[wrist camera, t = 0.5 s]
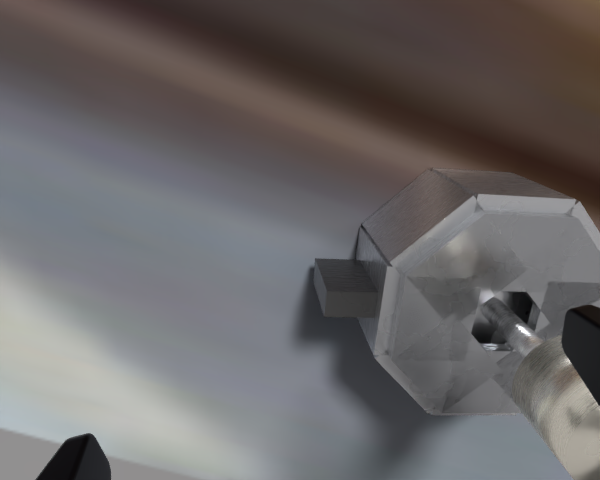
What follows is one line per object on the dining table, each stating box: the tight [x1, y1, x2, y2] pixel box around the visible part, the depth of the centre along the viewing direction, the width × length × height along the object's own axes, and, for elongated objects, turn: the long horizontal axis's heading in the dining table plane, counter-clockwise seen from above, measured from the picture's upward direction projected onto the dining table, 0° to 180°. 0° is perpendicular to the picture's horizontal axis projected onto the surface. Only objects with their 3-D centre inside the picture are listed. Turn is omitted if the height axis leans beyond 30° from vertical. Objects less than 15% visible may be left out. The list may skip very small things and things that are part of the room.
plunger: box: [471, 291, 600, 480], centre depth 18 cm, size 8×8×9 cm
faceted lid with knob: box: [313, 168, 600, 415], centre depth 23 cm, size 10×13×6 cm
